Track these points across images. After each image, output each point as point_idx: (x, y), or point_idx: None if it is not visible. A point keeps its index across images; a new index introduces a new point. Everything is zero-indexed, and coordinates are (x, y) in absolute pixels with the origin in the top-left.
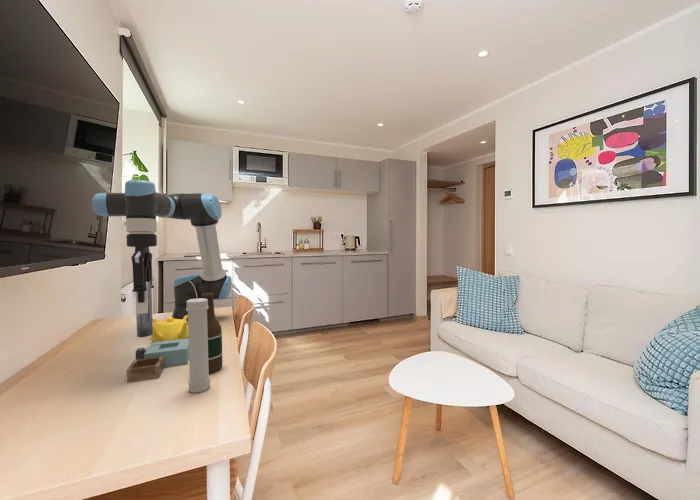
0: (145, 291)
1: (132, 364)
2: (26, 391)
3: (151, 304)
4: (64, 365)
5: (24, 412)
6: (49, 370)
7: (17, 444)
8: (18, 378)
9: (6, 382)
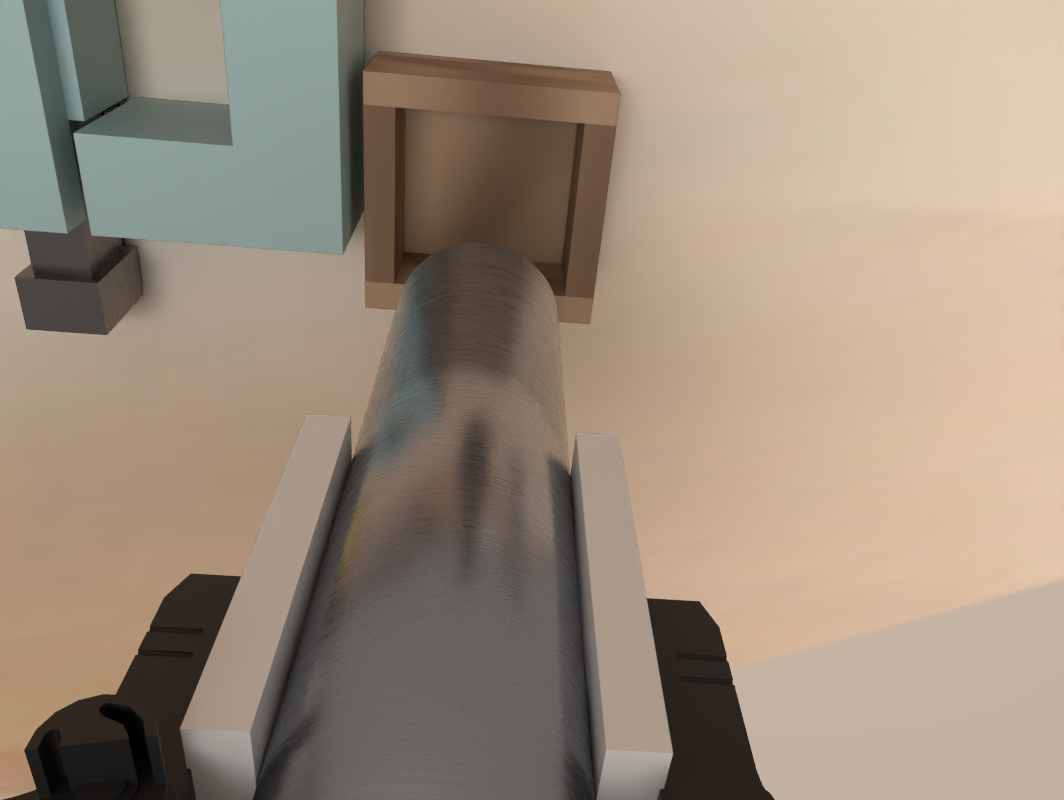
0: (667, 763)
1: None
2: None
3: (478, 464)
4: (84, 662)
5: (722, 628)
6: None
7: (1053, 558)
8: None
9: None
